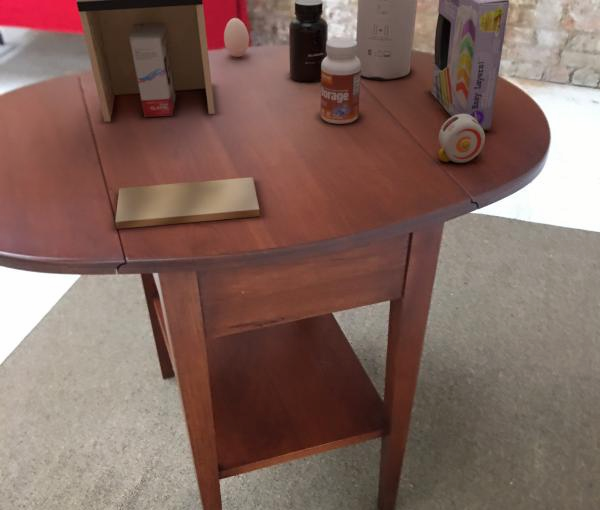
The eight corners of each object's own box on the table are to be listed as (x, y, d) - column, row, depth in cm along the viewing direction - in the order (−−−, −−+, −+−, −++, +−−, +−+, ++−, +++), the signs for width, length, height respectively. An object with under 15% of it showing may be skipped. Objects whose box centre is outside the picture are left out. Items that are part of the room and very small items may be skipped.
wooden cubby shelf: (104, 122, 103) (73, -10, 90) (109, 93, 112) (82, -31, 99) (214, 114, 105) (200, -17, 92) (211, 86, 114) (197, -37, 101)
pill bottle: (314, 121, 102) (313, 45, 94) (330, 107, 106) (331, 34, 98) (349, 127, 100) (352, 50, 92) (364, 113, 104) (368, 38, 96)
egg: (253, 53, 126) (251, 15, 122) (244, 61, 123) (241, 22, 118) (231, 51, 127) (228, 13, 123) (221, 59, 124) (218, 20, 120)
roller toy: (484, 164, 90) (492, 123, 86) (440, 167, 90) (446, 126, 85) (475, 151, 93) (482, 110, 89) (432, 153, 93) (438, 113, 89)
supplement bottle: (315, 85, 113) (315, 8, 105) (283, 79, 116) (280, 4, 107) (333, 73, 117) (335, -1, 109) (301, 67, 120) (300, -6, 111)
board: (116, 229, 79) (114, 221, 78) (120, 195, 85) (119, 188, 85) (259, 216, 81) (259, 209, 80) (253, 183, 87) (252, 177, 86)
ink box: (172, 116, 104) (160, 37, 96) (143, 118, 104) (128, 38, 96) (176, 97, 110) (165, 21, 102) (148, 98, 110) (134, 22, 102)
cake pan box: (426, 90, 111) (440, -30, 98) (454, 88, 111) (471, -32, 98) (459, 135, 97) (480, 2, 85) (491, 132, 98) (516, 0, 85)
